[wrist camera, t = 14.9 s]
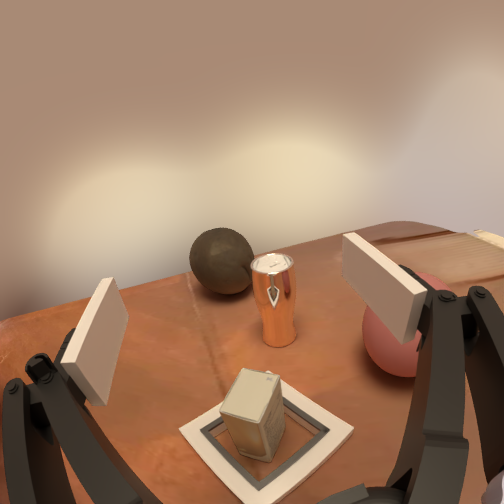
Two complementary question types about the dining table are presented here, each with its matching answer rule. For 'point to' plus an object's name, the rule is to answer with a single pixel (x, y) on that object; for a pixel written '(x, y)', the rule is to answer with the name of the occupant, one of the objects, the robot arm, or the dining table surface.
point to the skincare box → (255, 414)
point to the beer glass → (275, 297)
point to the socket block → (290, 472)
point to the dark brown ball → (222, 260)
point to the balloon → (394, 340)
